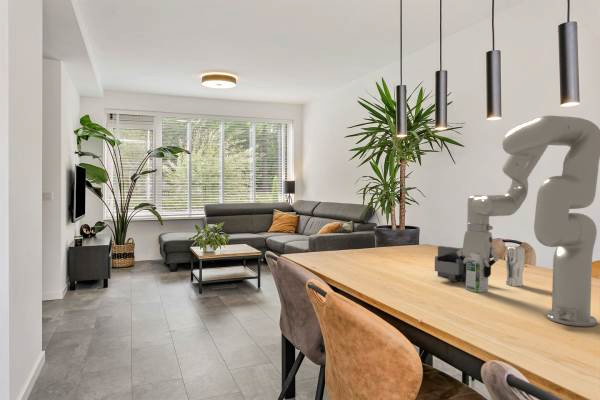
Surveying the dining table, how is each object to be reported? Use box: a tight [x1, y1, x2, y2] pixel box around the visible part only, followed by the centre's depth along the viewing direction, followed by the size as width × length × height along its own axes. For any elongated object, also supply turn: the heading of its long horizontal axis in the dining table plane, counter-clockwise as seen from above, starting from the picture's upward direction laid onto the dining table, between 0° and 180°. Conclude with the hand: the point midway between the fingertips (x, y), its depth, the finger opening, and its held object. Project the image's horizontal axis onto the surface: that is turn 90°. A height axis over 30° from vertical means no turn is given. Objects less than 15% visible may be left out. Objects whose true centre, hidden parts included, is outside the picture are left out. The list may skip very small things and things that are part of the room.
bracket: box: [434, 245, 466, 282], centre depth 172 cm, size 11×18×13 cm, turn 42°
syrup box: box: [465, 253, 489, 294], centre depth 156 cm, size 6×6×14 cm
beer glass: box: [504, 245, 526, 288], centre depth 165 cm, size 7×7×15 cm
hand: (477, 274), depth 156 cm, fingers closed on syrup box, 6 cm apart
